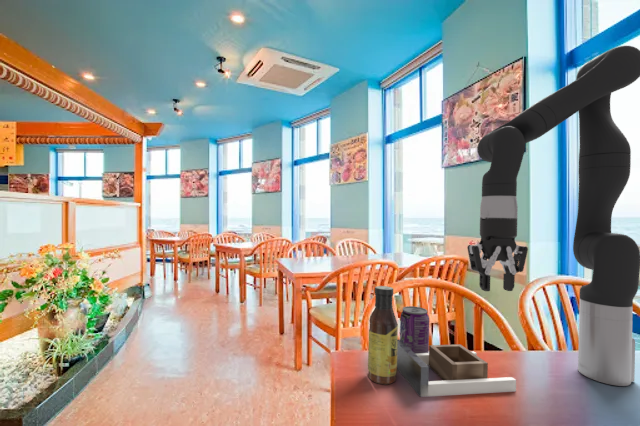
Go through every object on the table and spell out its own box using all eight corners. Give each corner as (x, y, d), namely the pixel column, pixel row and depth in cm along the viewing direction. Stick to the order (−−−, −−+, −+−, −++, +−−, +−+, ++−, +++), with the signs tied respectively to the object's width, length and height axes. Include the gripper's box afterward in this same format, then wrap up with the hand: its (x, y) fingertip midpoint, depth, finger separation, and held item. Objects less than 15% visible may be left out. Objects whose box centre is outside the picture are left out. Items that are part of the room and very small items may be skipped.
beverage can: (403, 348, 87) (405, 304, 87) (431, 355, 84) (432, 308, 84) (395, 358, 81) (397, 310, 81) (424, 365, 78) (425, 315, 78)
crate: (459, 365, 78) (460, 344, 78) (487, 387, 68) (487, 363, 68) (428, 366, 77) (429, 345, 77) (452, 388, 67) (452, 364, 67)
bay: (473, 361, 81) (473, 337, 81) (516, 392, 67) (516, 362, 67) (393, 364, 78) (393, 339, 78) (420, 397, 64) (421, 367, 64)
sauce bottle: (397, 388, 67) (399, 292, 67) (366, 384, 68) (369, 290, 68) (396, 373, 73) (398, 285, 74) (368, 369, 75) (370, 283, 75)
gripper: (514, 217, 79) (512, 286, 79) (460, 215, 77) (458, 287, 77) (539, 217, 71) (537, 294, 71) (480, 215, 69) (478, 294, 69)
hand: (496, 290), depth 74 cm, fingers open, 5 cm apart
